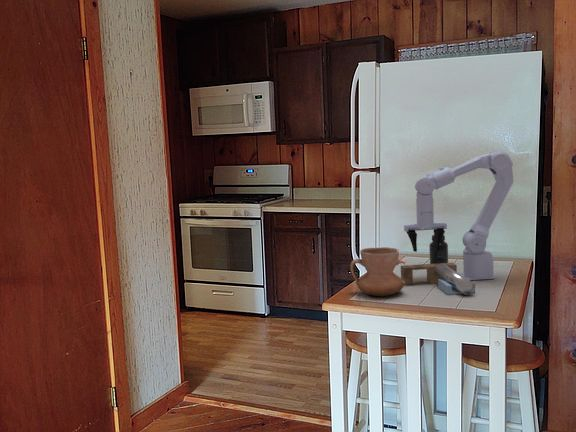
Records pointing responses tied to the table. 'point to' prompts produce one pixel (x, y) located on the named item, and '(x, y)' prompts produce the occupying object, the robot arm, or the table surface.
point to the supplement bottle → (438, 252)
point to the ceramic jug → (379, 271)
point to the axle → (455, 279)
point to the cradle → (448, 288)
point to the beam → (408, 269)
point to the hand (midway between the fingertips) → (425, 250)
